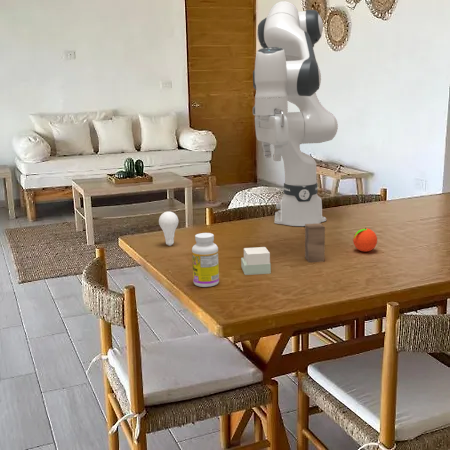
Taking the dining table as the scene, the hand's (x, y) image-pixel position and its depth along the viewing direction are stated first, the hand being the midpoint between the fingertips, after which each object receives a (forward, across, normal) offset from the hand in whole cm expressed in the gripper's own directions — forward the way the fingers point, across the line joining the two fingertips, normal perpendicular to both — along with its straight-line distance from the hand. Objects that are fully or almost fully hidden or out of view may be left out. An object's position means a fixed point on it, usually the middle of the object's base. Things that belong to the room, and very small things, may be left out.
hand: (272, 159), depth 165 cm
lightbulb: (+28, +23, +27) cm, 46 cm away
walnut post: (+29, -4, -11) cm, 31 cm away
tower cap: (+26, -9, +8) cm, 29 cm away
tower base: (+29, -9, +8) cm, 31 cm away
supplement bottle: (+29, -16, +23) cm, 40 cm away
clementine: (+29, -1, -27) cm, 40 cm away
